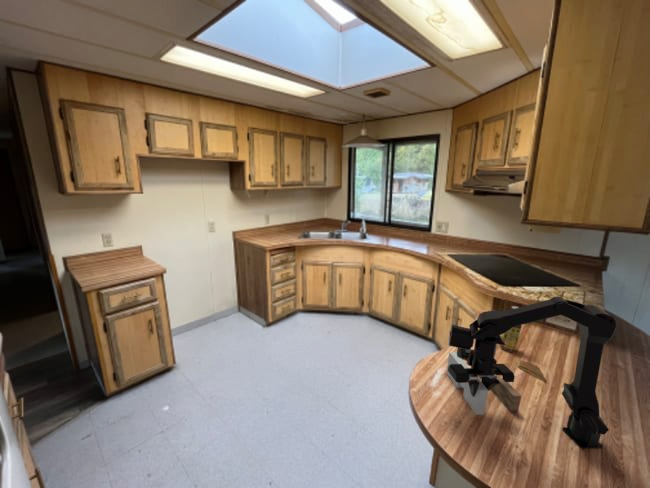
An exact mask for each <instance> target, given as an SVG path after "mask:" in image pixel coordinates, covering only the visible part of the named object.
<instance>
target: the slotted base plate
mask: <svg viewBox="0 0 650 488" xmlns="http://www.w3.org/2000/svg"><path fill="white" fill-rule="evenodd" d="M479 379H482V377H481V376H479ZM497 380H498V381H499V382H500V384H497V385H496V386H494V387H493V388H492V389H490V390H491V391H492V392H493V394H494V395H495V396H496V397H497V398H498V400H500V402H501V403H502V404H503V405H504V406H505V407H506V408H507V410H508V411H509V412H510V413H513V412H515V413H517V412H519V407H520V403H521V400H522V399H521V398H522V394H520V393H519V392H518V391H517V390H516V388H514V387H513V385H511V383H510V382H505V381H504V380H503V379H502V378H497Z"/></svg>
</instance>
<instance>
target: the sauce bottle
mask: <svg viewBox="0 0 650 488" xmlns="http://www.w3.org/2000/svg"><path fill="white" fill-rule="evenodd" d="M519 307H520V306H515V305H512V306H511V308H510V310H512V309H515V308H519ZM522 326H523V325H519V326H515V327H513V328H511V329H510V330H508V331H507V332H506V333H504V334H501V337H502V338H503V340H504V342H505V345H500V344H499V347H500V348H501V349H502V350H503V351H506V352H510V353H514V352H515V351H516V350H517V346H518V343H519V339H520V335H521V331H522Z"/></svg>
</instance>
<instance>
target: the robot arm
mask: <svg viewBox="0 0 650 488" xmlns="http://www.w3.org/2000/svg"><path fill="white" fill-rule="evenodd" d="M518 307H519V308H515V309H512V310H511V309H509V310H494V309H493V310H487V311H483V312H481V313H479V314H478V316H477V319H475V320H474V321H473V322H471V323H470V324H469V327H463V326H459V325H457V324H451V327H450V330H449V337H448V346H449V347H453V348H457V350H456V353H457V356H458V357H459V358H461V359H462V360H463V361H466V365H467V366H468V367H469V366H470V367H469V368H464V367H463V366H462V364H450V365H449V366H448V372H449V373H450V374H451V376H452V377H453V379H454V380H455V381H456V382H458V383H467V382H468V384H469V388H470V392H471V395H472V396H473V397H474V396H475V394H476V392H477V389H478V386H479V382H478V381H477V378H478V377H480V376H481V377H482V379H481V378H480V379H481V380H480V381H481V382H482V383H483V385H484V386H485V387H486V388H487V389H488V392H489V391H490V390H491V389H492V388H493V387H494V386H496V385H497V384H500V382H499V381H498V380H497V379H498V376H502V378H501V379H503V380H504V381H505V382H508V383H514V381H515V378H516V377H515V372H513V371H512V370H511V369H510V368H509V367H508V366H507V365H505V363H497V362H498V361H497V360H496V359H495V355H496V350H497V345H499V346H500V345H505V342H504V340H503V338H502V334H504V333H506V332H507V331H508V330H510V329H511V328H513V327H515V326H519V325H522V326H524V325H526V324H531V323H535V322H538V321H543V320H546V319H551V318H554V317H558V316H562V317H565V318H567V319H569V320H571V321H573V322H575V323H577V325H578V329H579V333H580V340H579V341H580V342H579V348H578V354H577V355H578V356H577V360H576V364H575V372H574V373H575V374H574V377H573V381H571V383H566V382H564V383H563V390H562V392H561V395H562V397H563V398H564V400H565V402H566V403H567V406H568V407H569V409H570V411H571V413H570V414H568V415H569V416H568V420H567V422H566V427H562V428H561V430H562V431H563V432H564V433H565V434H567V436H568V437H570V439H571V440H572V441H573V442H575V443H576V445H577V446H578V447H580V448H581V449H602V448H604V446H603V444H602V443H600V439H601V436H602V435H605V434H606V433H608V432H609V428H608V426H607V424H606V423H605V421H604V420H603V418H602V417H601V414H600V404H599V400H598V397H597V392H596V389H597V385H598V379H599V374H600V369H601V368H600V367H601V364H602V357H603V353H604V348H605V347H604V346H605V344H606V343H608V342H609V341H610V340H611V339H612V338H613V336H614V334H615V332H616V329H617V326H618V324H617V320H616V319H615V318H614V317H612V315H610V314H609V313H607V311H605V310H604V309H602V308H601V307H600V306H598V305H594V304H587V305H586V304H584V303H580V302H578V301H573V300H571V299H566V298H564V297H562V296H552V297H551V298H550V299H546V300H542V301H538V302H535V303H531V304H527V305H524V306H518ZM472 348H473V349H472Z"/></svg>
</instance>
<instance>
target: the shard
mask: <svg viewBox="0 0 650 488" xmlns="http://www.w3.org/2000/svg"><path fill="white" fill-rule="evenodd" d="M517 362H518V365H517V368H518V369H520V370H523V371H524V372H526V373H528V374H530V375H531V376H533V377H535V378H536V379H538V380H540V381H542V382H544V383H546V382H547V378H546V377H545V376H544V373H543V372H542V370H541V369H540V367H539V366H538V364H536V363H534V362H531V361H526V360H522V359H518V360H517Z"/></svg>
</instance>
